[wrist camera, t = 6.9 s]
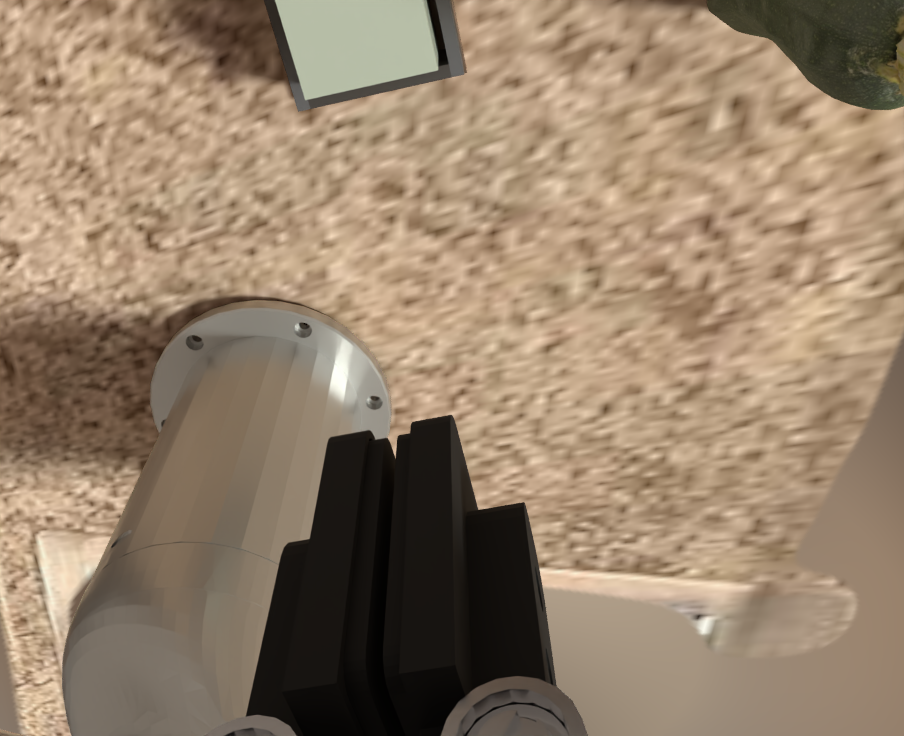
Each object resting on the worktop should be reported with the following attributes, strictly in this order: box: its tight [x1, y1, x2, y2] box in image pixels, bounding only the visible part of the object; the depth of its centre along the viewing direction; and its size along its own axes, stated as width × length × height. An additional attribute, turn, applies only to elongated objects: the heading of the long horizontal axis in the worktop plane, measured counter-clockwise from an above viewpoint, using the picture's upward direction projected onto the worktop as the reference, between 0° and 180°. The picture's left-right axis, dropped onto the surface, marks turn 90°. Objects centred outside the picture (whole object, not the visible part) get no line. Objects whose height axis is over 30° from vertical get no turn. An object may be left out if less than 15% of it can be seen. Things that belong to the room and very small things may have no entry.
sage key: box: [275, 0, 438, 100], centre depth 31 cm, size 5×5×4 cm
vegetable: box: [707, 0, 904, 110], centre depth 26 cm, size 4×4×20 cm
